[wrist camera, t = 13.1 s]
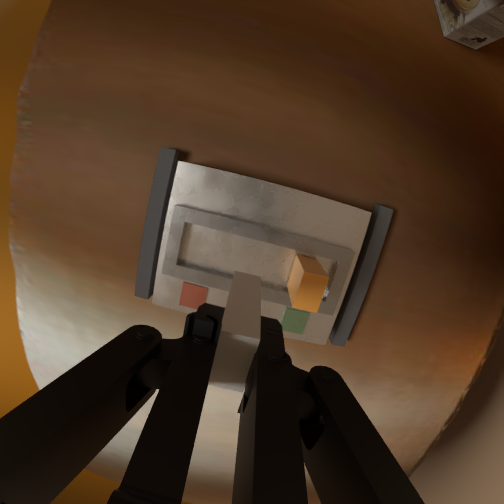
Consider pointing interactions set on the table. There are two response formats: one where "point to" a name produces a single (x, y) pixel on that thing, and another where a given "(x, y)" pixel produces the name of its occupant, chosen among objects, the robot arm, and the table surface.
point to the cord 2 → (362, 274)
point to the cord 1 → (155, 221)
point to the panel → (254, 245)
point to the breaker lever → (307, 283)
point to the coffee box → (471, 21)
